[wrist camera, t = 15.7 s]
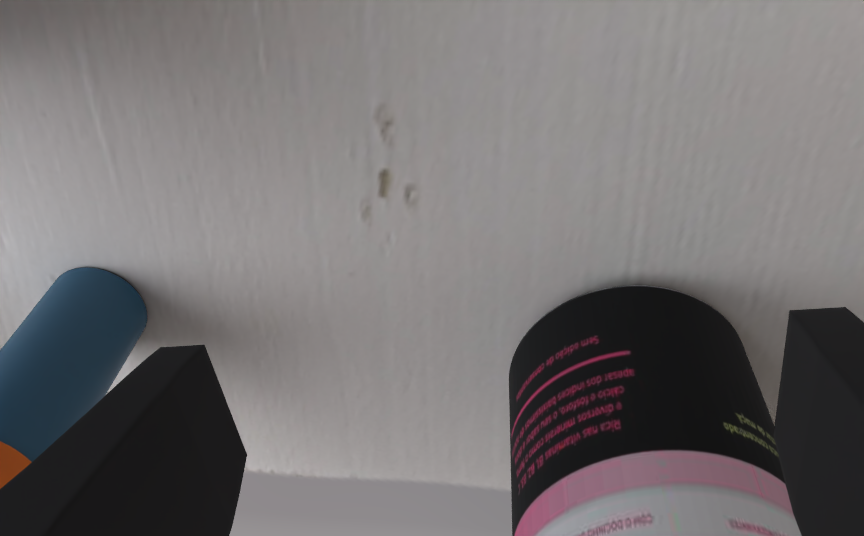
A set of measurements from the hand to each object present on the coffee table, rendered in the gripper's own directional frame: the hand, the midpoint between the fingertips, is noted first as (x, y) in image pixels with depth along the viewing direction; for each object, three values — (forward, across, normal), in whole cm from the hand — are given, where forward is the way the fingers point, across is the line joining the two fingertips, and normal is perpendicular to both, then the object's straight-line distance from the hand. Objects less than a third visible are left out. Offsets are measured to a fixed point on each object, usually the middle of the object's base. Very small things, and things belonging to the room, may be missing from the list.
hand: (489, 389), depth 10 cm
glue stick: (+10, +12, +6) cm, 17 cm away
